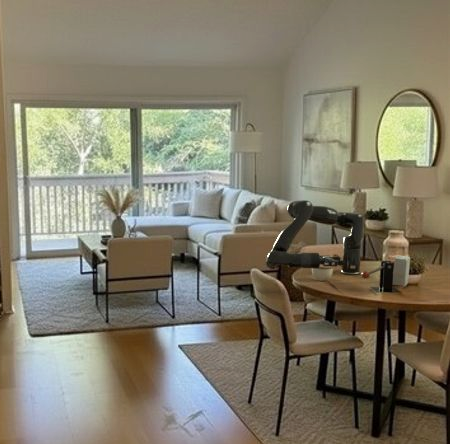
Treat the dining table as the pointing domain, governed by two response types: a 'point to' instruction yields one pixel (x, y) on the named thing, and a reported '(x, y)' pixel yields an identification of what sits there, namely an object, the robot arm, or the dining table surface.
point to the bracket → (386, 279)
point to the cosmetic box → (401, 270)
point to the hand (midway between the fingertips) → (342, 261)
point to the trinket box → (322, 272)
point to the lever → (366, 274)
